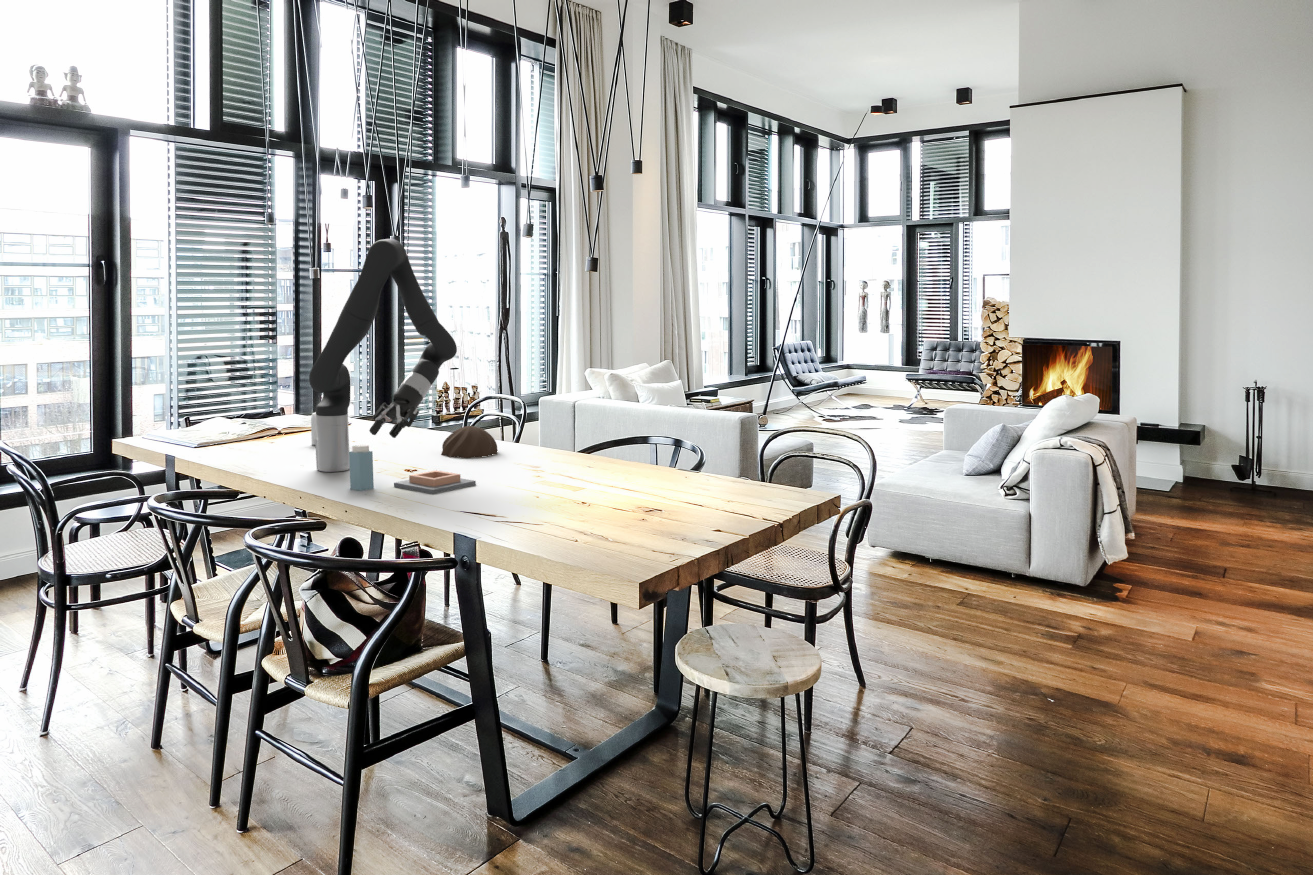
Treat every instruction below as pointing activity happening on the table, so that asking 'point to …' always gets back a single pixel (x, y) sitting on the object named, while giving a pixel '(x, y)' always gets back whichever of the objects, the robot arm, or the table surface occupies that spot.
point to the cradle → (434, 482)
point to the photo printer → (313, 428)
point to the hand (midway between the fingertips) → (381, 434)
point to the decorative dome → (469, 443)
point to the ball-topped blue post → (361, 468)
